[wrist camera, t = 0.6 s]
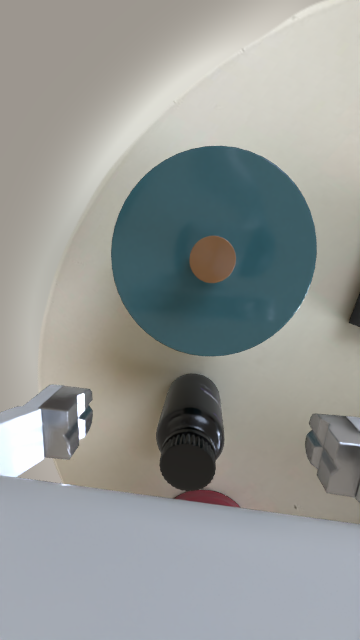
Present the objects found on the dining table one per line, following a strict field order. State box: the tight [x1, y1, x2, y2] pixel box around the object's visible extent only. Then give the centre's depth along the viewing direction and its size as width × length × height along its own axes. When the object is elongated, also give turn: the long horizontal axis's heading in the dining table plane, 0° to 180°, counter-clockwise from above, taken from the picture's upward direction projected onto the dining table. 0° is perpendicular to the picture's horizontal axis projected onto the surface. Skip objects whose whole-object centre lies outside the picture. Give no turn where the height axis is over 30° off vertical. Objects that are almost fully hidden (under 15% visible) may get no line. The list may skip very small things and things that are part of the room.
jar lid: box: [111, 146, 317, 356], centre depth 16 cm, size 15×15×5 cm
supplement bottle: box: [156, 374, 224, 491], centre depth 27 cm, size 7×7×12 cm
